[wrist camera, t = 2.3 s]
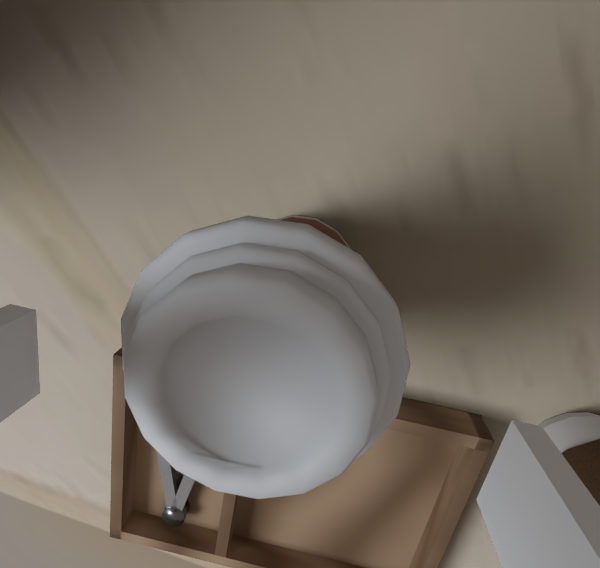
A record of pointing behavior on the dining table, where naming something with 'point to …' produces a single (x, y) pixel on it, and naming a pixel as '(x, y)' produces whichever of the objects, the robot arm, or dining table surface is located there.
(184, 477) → the steel tongs
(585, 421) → the coffee cup
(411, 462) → the walnut caddy
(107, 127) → the dining table surface
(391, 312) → the coffee cup
